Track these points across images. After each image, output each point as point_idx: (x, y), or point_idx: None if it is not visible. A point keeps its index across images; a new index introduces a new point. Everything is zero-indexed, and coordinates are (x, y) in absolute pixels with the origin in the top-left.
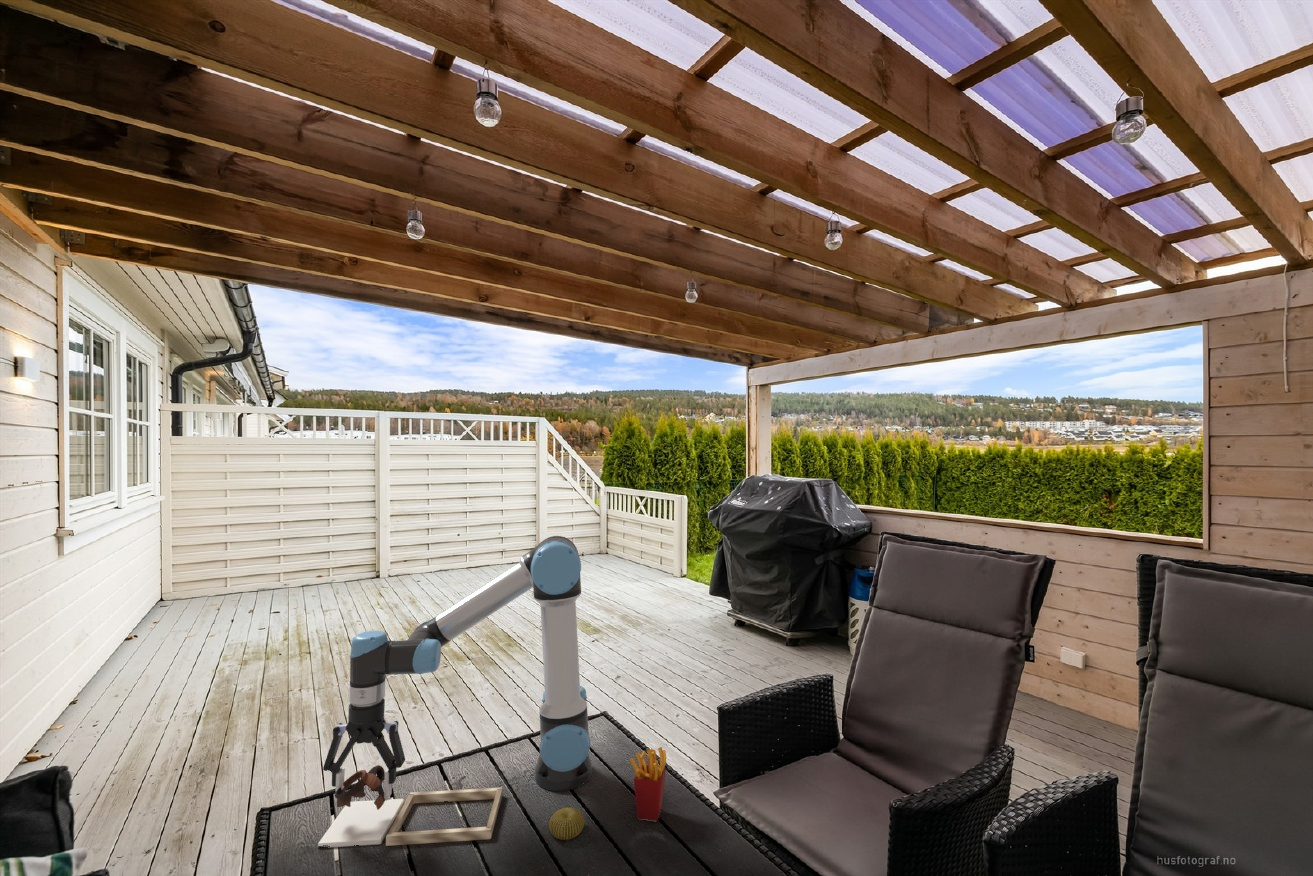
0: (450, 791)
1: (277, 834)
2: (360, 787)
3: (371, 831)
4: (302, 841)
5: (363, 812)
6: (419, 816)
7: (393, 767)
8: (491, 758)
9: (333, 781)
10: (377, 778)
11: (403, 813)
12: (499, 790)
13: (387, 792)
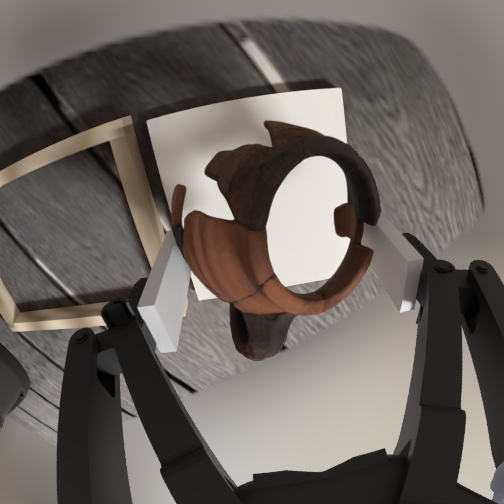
0: (88, 322)
1: (457, 155)
2: (242, 190)
3: (199, 150)
4: (394, 121)
5: (281, 236)
6: (120, 247)
7: (109, 327)
8: (121, 409)
9: (415, 245)
10: (209, 287)
11: (138, 230)
12: (9, 323)
13: (160, 247)
